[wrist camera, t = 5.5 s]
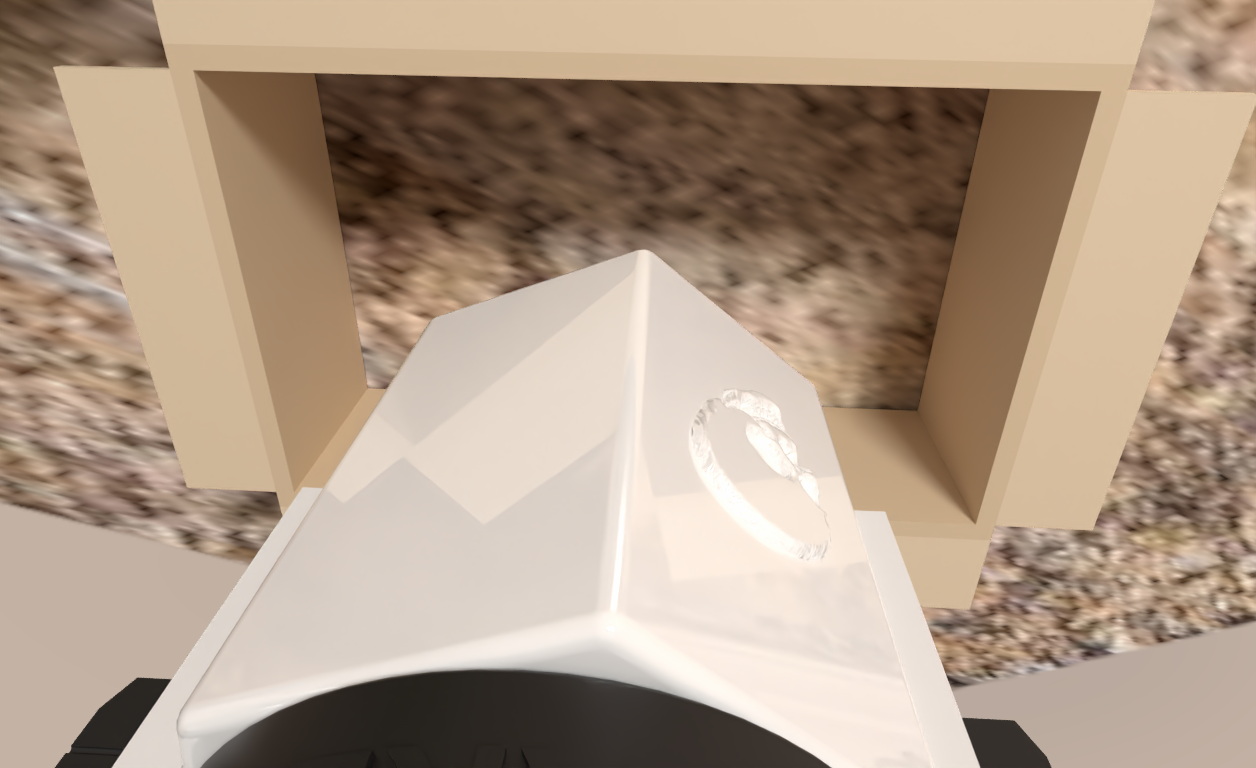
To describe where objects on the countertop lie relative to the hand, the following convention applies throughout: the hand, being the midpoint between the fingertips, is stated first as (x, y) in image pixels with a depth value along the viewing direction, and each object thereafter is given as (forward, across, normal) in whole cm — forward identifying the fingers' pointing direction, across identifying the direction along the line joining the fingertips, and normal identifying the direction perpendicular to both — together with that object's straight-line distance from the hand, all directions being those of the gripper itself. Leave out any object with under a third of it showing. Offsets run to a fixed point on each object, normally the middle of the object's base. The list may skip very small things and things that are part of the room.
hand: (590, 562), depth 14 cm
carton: (+17, 0, 0) cm, 17 cm away
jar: (+4, 0, 0) cm, 4 cm away
